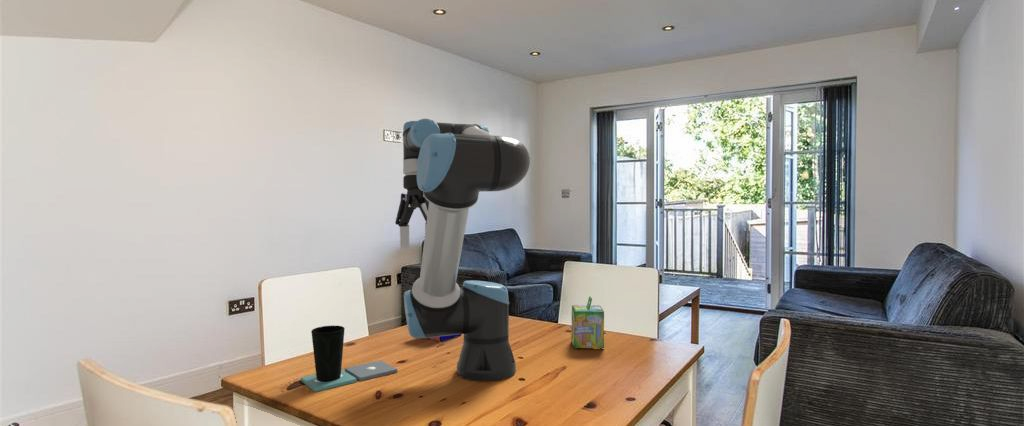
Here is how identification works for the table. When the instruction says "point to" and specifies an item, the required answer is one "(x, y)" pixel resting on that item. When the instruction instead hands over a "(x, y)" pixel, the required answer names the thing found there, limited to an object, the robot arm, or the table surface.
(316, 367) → the cup
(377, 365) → the tile one
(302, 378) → the tile two
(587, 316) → the green printed box
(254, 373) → the table surface
